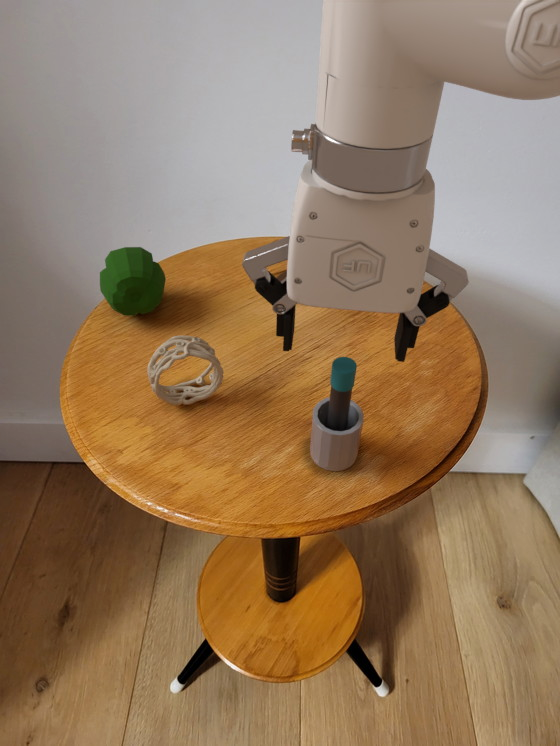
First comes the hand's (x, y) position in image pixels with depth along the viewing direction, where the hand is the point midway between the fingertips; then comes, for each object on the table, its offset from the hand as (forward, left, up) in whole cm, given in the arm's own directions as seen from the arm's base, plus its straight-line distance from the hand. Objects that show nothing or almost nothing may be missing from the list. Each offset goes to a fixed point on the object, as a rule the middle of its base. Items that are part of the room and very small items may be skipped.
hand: (343, 345), depth 49 cm
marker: (0, 0, -15) cm, 15 cm away
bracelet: (+17, -6, -15) cm, 23 cm away
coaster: (+6, -29, -15) cm, 33 cm away
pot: (0, 0, -15) cm, 15 cm away
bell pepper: (+25, -17, -10) cm, 32 cm away
